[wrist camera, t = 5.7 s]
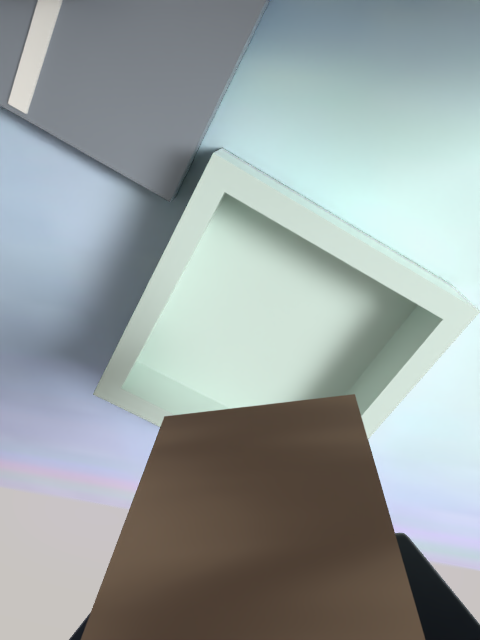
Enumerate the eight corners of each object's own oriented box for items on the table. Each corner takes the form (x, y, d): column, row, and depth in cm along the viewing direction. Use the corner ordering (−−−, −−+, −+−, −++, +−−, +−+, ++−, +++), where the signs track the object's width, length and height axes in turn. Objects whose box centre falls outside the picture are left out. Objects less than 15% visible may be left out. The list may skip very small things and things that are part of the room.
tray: (222, 147, 15) (213, 153, 13) (451, 284, 16) (480, 311, 14) (115, 360, 19) (93, 394, 16) (308, 458, 20) (313, 501, 18)
